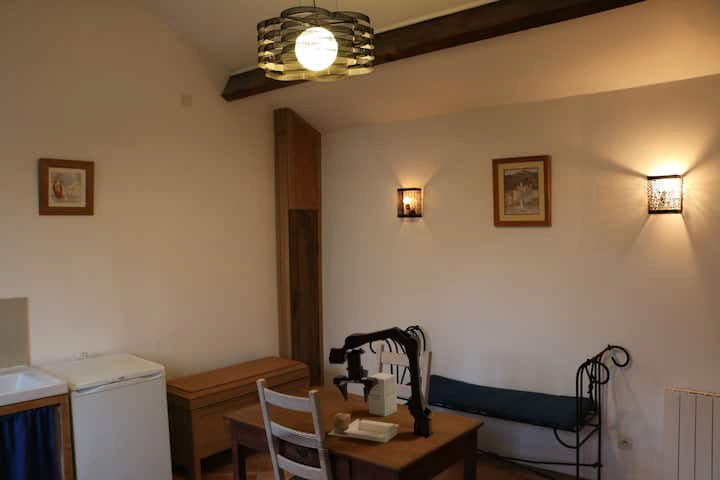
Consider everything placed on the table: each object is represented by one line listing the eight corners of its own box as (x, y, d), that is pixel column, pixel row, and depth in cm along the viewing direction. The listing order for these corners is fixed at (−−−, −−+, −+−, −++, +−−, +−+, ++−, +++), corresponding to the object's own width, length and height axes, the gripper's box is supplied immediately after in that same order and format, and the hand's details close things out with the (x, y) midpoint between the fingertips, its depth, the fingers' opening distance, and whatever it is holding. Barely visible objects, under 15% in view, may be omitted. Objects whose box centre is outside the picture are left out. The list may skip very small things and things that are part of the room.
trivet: (357, 431, 250) (357, 430, 250) (346, 438, 242) (346, 437, 242) (338, 428, 254) (338, 427, 254) (327, 435, 246) (327, 433, 246)
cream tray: (399, 433, 246) (399, 421, 246) (382, 446, 232) (381, 433, 232) (362, 427, 255) (362, 415, 254) (343, 440, 240) (343, 427, 240)
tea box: (350, 430, 249) (350, 414, 249) (344, 434, 245) (344, 417, 244) (340, 429, 252) (339, 412, 251) (333, 433, 247) (333, 416, 247)
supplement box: (381, 408, 281) (380, 372, 281) (397, 411, 276) (396, 374, 275) (368, 413, 274) (367, 376, 274) (385, 416, 268) (383, 379, 268)
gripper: (382, 361, 254) (384, 398, 255) (343, 359, 263) (345, 394, 263) (371, 367, 244) (373, 405, 245) (331, 364, 253) (333, 401, 253)
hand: (356, 401), depth 252 cm, fingers open, 9 cm apart
